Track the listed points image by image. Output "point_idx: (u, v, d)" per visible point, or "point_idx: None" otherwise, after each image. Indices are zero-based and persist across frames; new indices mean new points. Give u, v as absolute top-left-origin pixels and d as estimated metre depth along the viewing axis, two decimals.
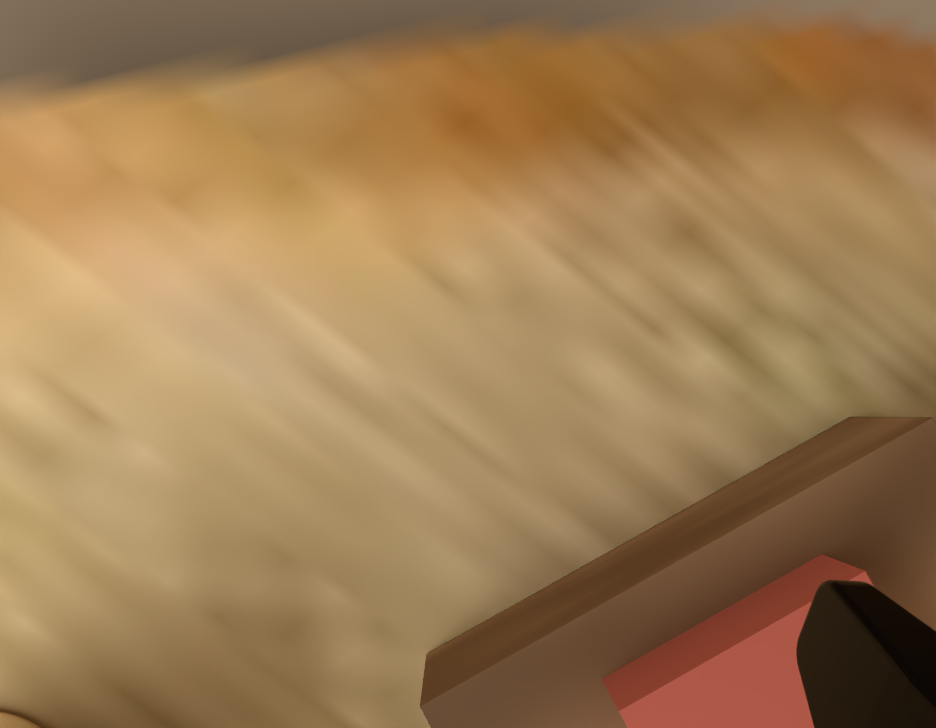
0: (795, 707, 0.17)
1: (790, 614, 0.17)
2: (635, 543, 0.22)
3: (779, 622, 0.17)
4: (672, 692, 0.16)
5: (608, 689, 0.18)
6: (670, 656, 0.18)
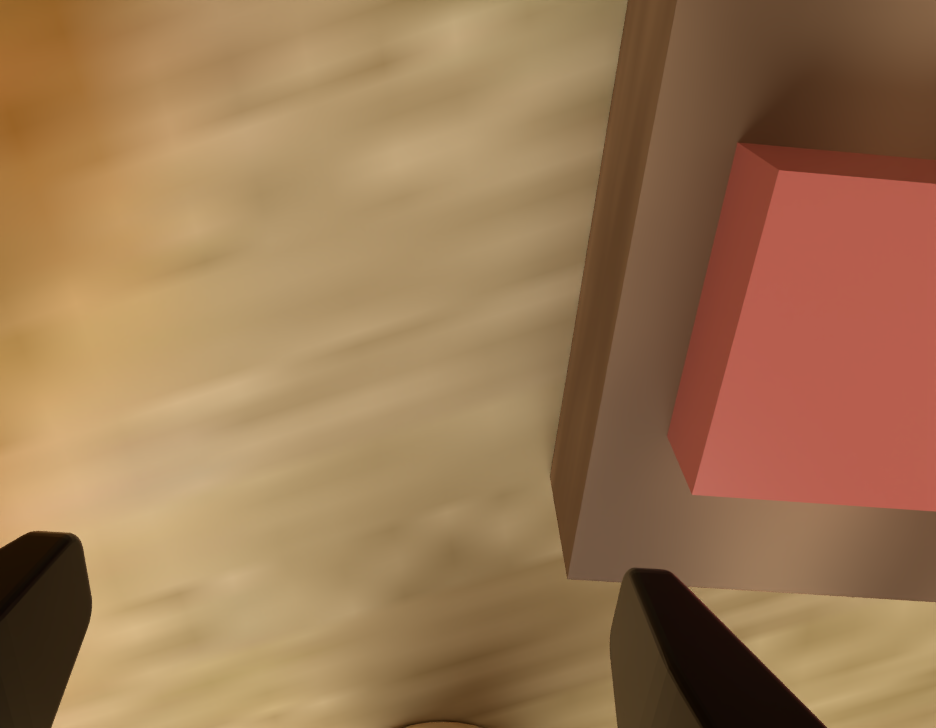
0: (836, 340, 0.13)
1: (749, 285, 0.13)
2: (591, 254, 0.18)
3: (746, 301, 0.13)
4: (717, 442, 0.14)
5: (675, 455, 0.16)
6: (694, 388, 0.15)
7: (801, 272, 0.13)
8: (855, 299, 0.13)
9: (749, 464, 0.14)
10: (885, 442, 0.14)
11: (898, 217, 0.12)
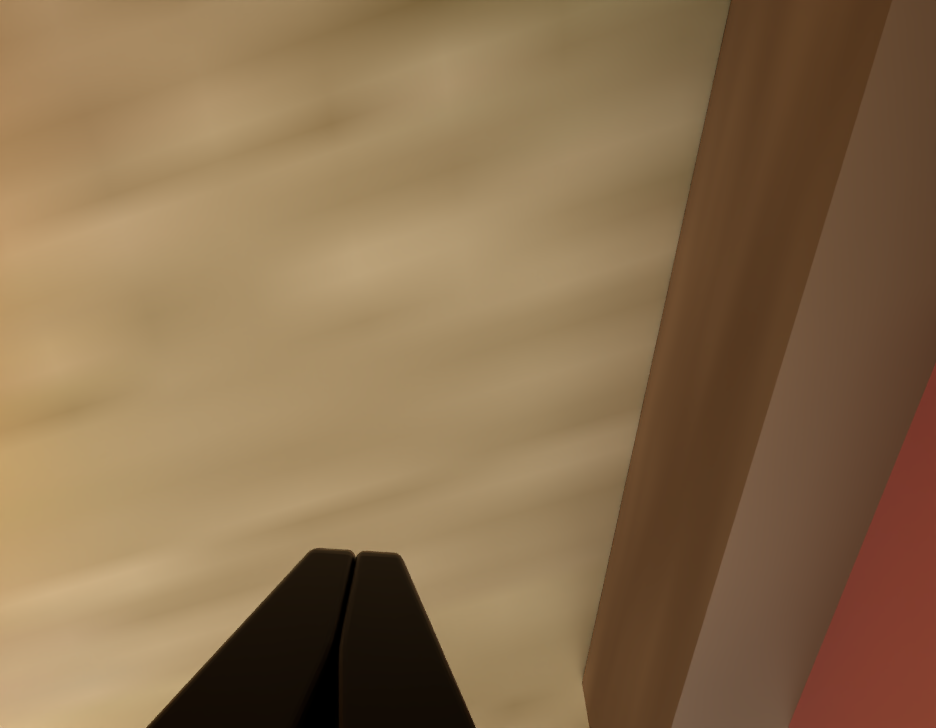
0: None
1: None
2: (655, 407, 0.12)
3: None
4: None
5: None
6: (857, 694, 0.09)
7: None
8: None
9: None
10: None
11: None
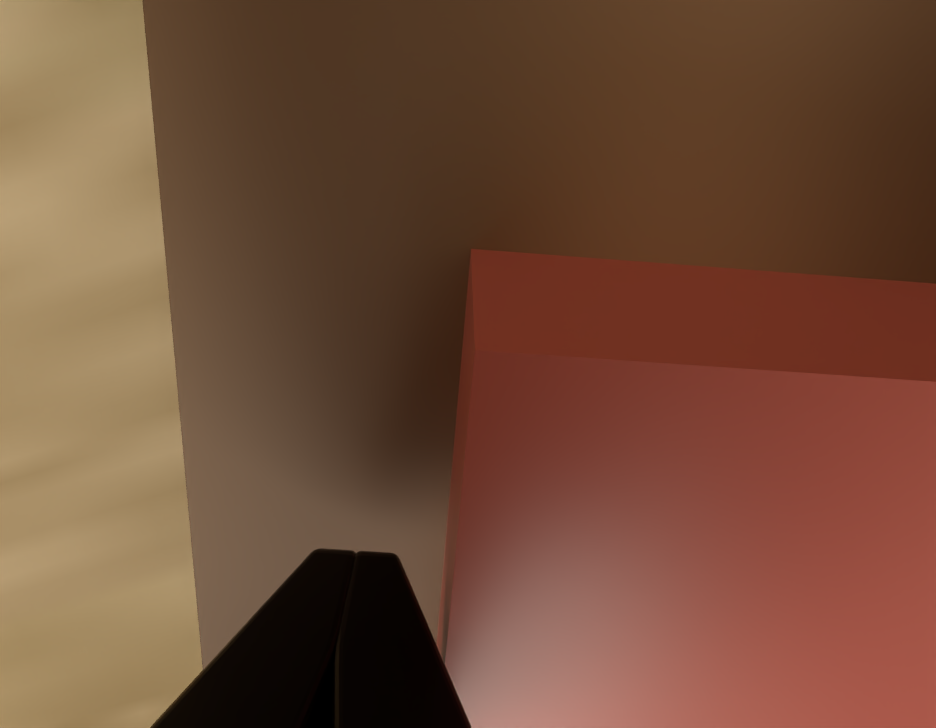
0: (656, 655, 0.07)
1: (457, 565, 0.06)
2: None
3: (459, 592, 0.06)
4: None
5: None
6: None
7: (561, 541, 0.06)
8: (681, 588, 0.06)
9: None
10: None
11: (755, 441, 0.06)
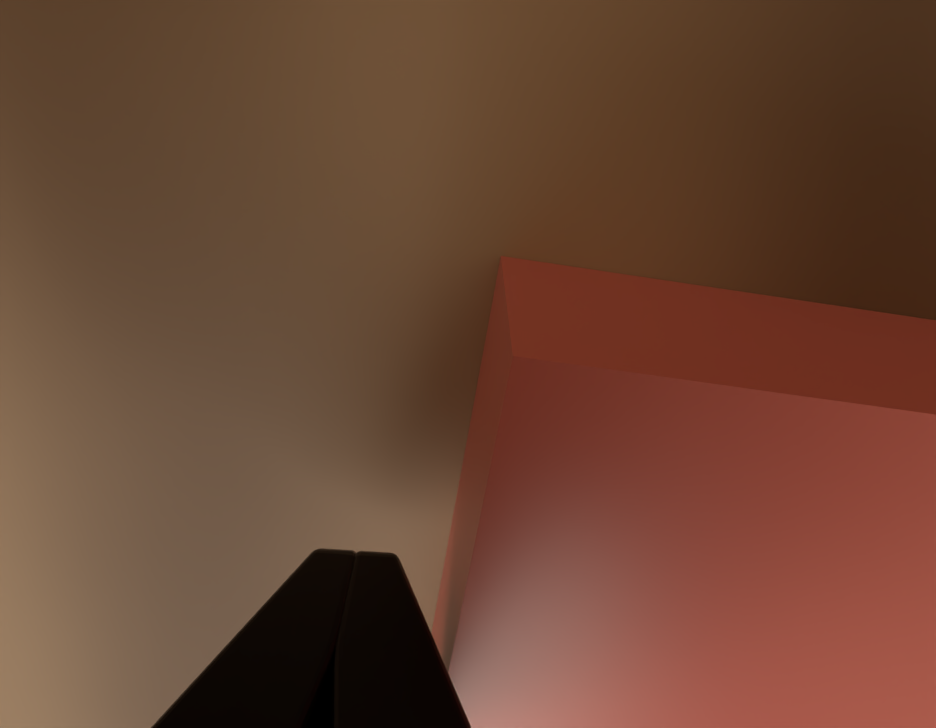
0: (657, 665, 0.07)
1: (472, 565, 0.06)
2: None
3: (471, 592, 0.06)
4: None
5: None
6: None
7: (577, 549, 0.06)
8: (689, 601, 0.06)
9: None
10: None
11: (775, 462, 0.06)
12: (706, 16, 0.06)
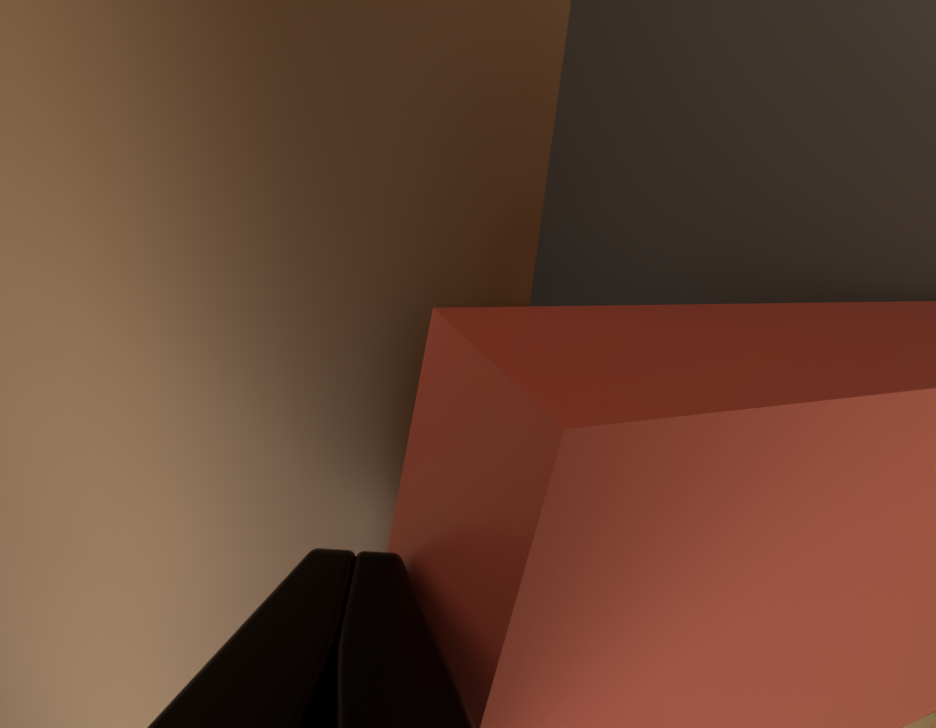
0: (643, 664, 0.07)
1: (506, 637, 0.06)
2: None
3: (501, 662, 0.06)
4: None
5: None
6: None
7: (596, 589, 0.06)
8: (674, 601, 0.07)
9: None
10: None
11: (746, 464, 0.06)
12: None
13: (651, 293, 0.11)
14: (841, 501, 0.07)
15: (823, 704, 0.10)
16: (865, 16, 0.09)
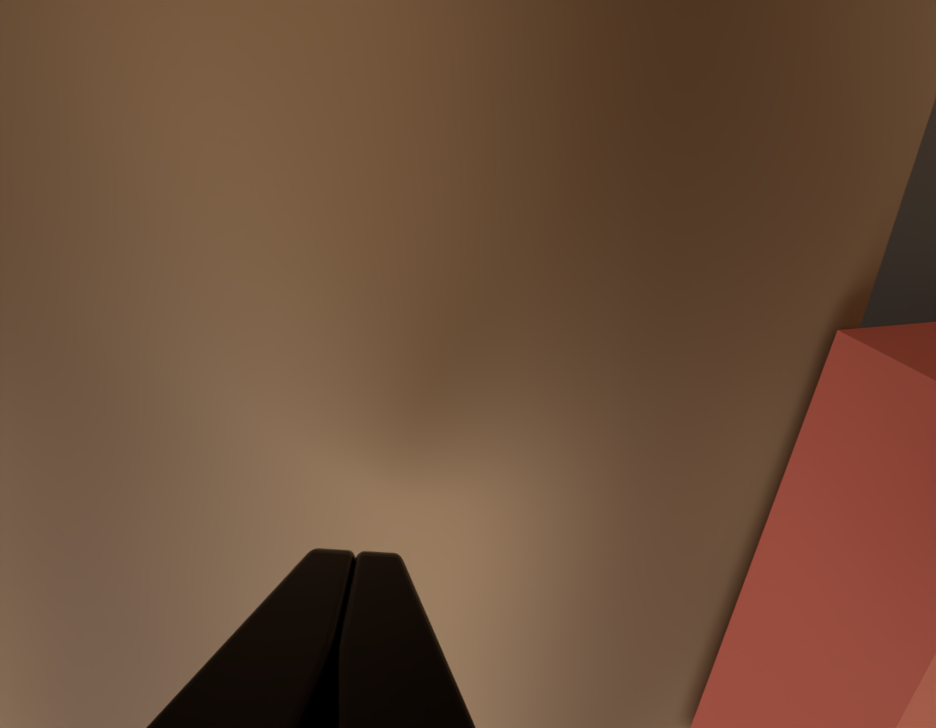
0: None
1: None
2: None
3: None
4: None
5: None
6: (764, 723, 0.09)
7: None
8: None
9: None
10: None
11: None
12: (492, 11, 0.06)
13: (868, 309, 0.12)
14: None
15: None
16: None
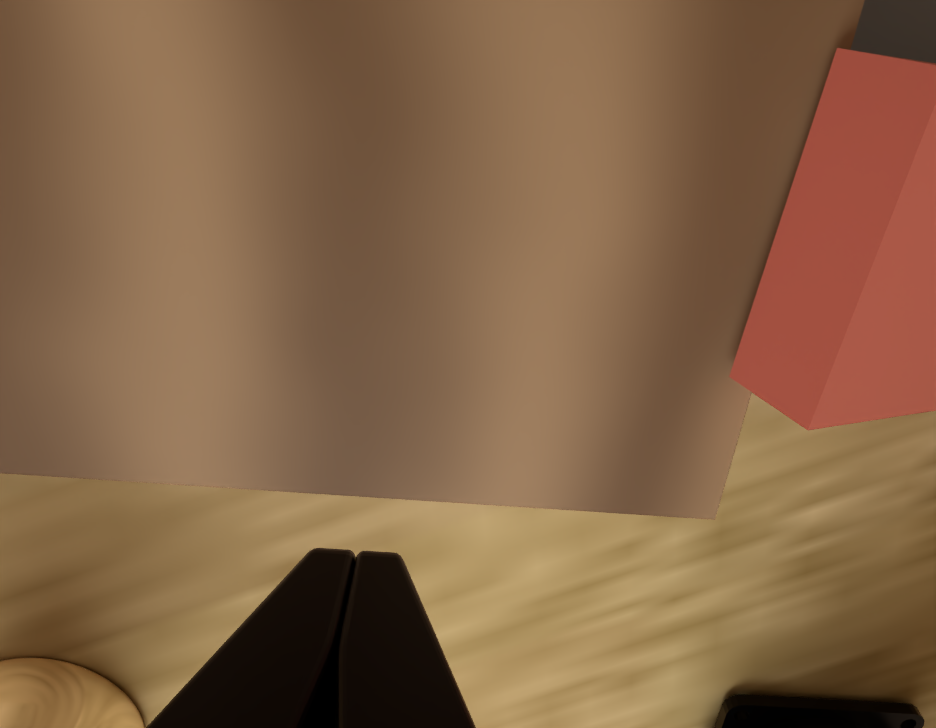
0: None
1: (899, 195, 0.12)
2: None
3: (893, 213, 0.12)
4: (839, 369, 0.13)
5: (756, 393, 0.15)
6: (787, 319, 0.14)
7: None
8: None
9: (857, 388, 0.14)
10: None
11: None
12: None
13: None
14: None
15: None
16: None
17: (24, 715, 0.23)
